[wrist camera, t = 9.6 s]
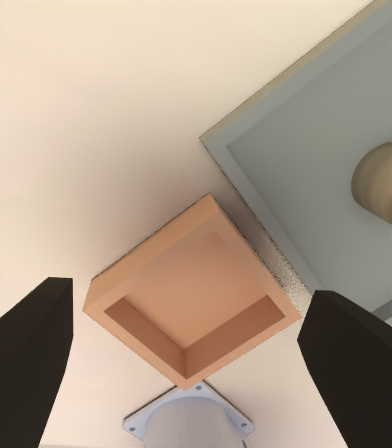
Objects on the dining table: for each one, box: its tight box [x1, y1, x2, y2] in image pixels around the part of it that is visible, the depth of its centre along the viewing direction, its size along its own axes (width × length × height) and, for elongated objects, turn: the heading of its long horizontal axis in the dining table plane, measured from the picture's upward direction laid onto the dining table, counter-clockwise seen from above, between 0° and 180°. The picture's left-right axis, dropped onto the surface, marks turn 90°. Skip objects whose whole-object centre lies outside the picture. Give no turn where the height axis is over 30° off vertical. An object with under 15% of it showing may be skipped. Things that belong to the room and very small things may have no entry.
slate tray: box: [199, 0, 392, 326], centre depth 19 cm, size 20×14×2 cm
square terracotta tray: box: [82, 192, 302, 391], centre depth 20 cm, size 10×10×3 cm
